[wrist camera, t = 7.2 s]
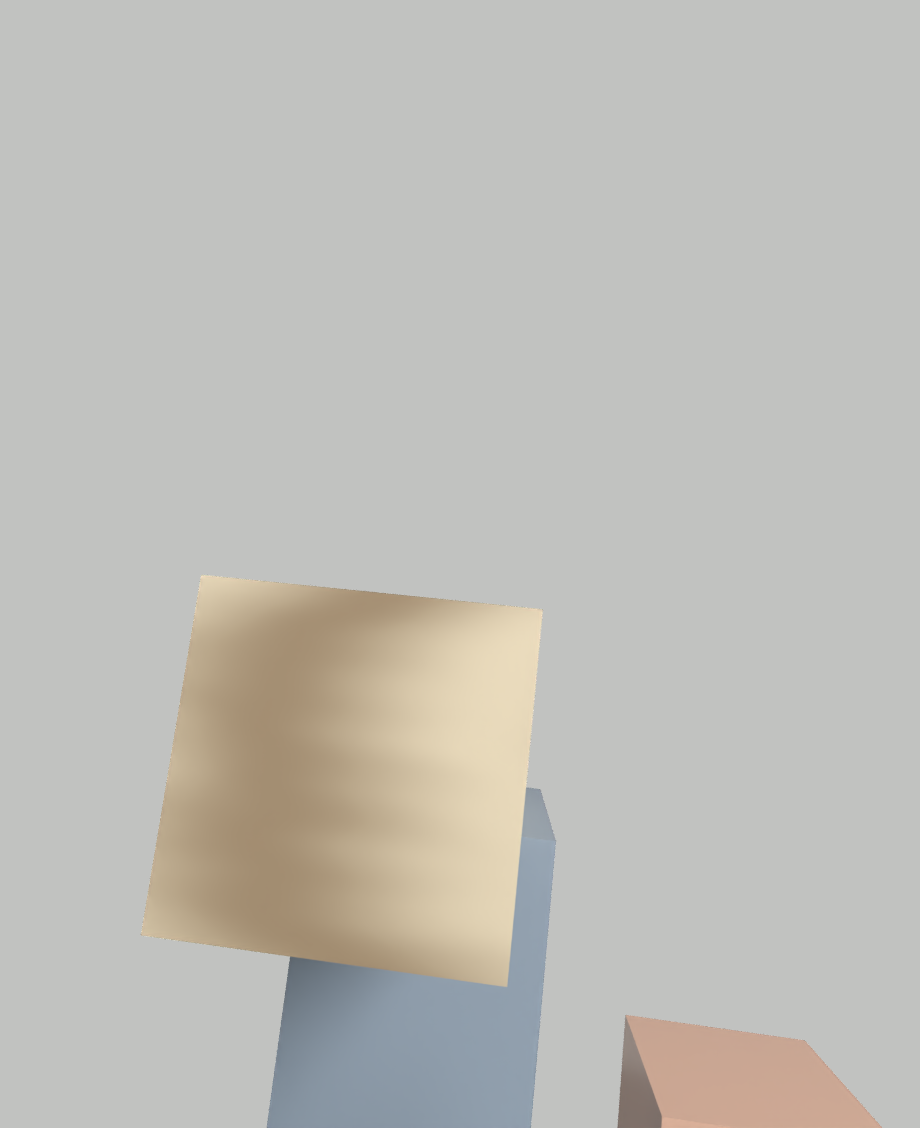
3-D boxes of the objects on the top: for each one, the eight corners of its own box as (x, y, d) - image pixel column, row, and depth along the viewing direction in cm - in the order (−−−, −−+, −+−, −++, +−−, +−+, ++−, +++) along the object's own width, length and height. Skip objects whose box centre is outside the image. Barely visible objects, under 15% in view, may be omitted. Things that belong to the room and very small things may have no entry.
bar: (141, 935, 9) (201, 574, 10) (422, 774, 36) (433, 679, 36) (506, 986, 9) (543, 609, 9) (516, 785, 35) (525, 690, 36)
